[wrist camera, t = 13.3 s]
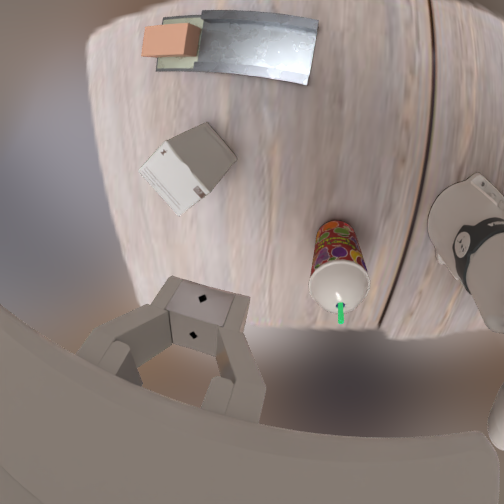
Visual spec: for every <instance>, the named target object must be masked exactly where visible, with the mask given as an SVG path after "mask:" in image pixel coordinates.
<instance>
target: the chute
mask: <svg viewBox="0 0 504 504" xmlns="http://www.w3.org/2000/svg"><path fill="white" fill-rule="evenodd" d="M178 23H190V24H192V25H195V26H197V27H199V28H201V29H200V35H199V41H198V48H197V55H196V57H157V65H156V71H194V72H214V73H228V74H238V75H247V76H255V77H263V78H269V79H276V80H282V81H287V82H292V83H298V84H302V85H308V80H309V74H310V69H311V64H312V58H313V53H314V47H315V42H316V36H317V30H318V23H319V20H315V19H310V18H304V17H298V16H292V15H285V14H277V13H267V12H256V11H237V10H202V14H201V15H188V16H175V17H164V18H163V22H162V25H166V24H178Z"/></svg>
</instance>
